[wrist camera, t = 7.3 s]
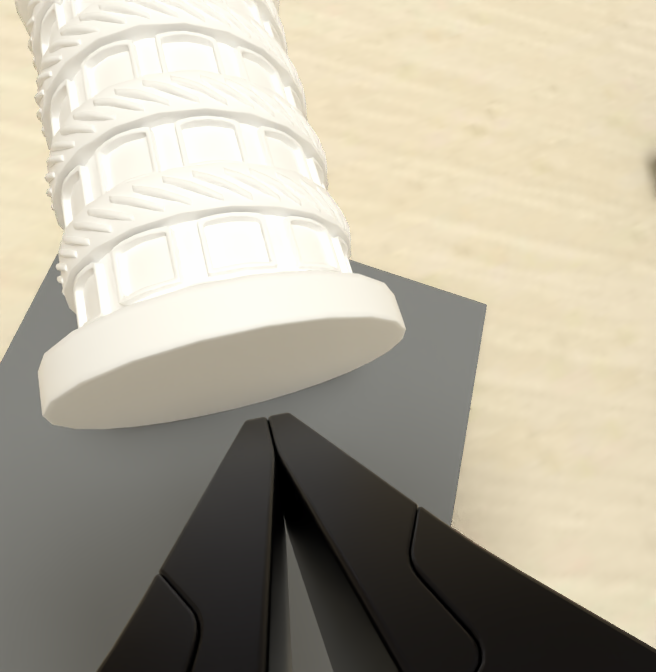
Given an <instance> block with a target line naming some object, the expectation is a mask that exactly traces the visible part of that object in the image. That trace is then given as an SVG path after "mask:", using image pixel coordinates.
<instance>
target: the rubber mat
mask: <svg viewBox="0 0 656 672" xmlns="http://www.w3.org/2000/svg"><path fill="white" fill-rule="evenodd" d="M58 263H59V255H58V254H57V256H56V258H55V260H54V262H53V263H52V265H51V267H50V269H49V271H48V273H47V275H46V277H45V279H44V281H43V283H42V285H41V286H40V288H39V290H38V292H37V294H36V296H35V298H34V300H33V302H32V304H31V306H30V308H29V309H28V311H27V313H26V315H25V317H24V319H23V321H22V323H21V325H20V327H19V329H18V331H17V332H16V334H15V336H14V338H13V340H12V342H11V344H10V346H9V348H8V350H7V352H6V353H5V355H4V357H3V359H2V361H1V363H0V672H96V670H97V669H98V667H99V666H100V664H101V663H102V661H103V660H104V658H105V657H106V655H107V654H108V652H109V651H110V649H111V648H112V646H113V645H114V643H115V641H116V640H117V638H118V637H119V635H120V633H121V632H122V630H123V628H124V627H125V625H126V623H127V622H128V620H129V619H130V617H131V615H132V614H133V612H134V610H135V609H136V607H137V605H138V604H139V602H140V601H141V599H142V597H143V595H144V594H145V592H146V590H147V588H148V587H149V585H150V583H151V581H152V580H153V578H154V576H155V575H157V574H159V569H160V567H161V566H162V564H163V562H164V560H165V559H166V557H167V555H168V553H169V552H170V550H171V548H172V547H173V545H174V543H175V541H176V540H177V538H178V536H179V534H180V533H181V531H182V529H183V527H184V526H185V524H186V522H187V520H188V519H189V517H190V515H191V514H192V512H193V510H194V508H195V507H196V505H197V503H198V501H199V500H200V498H201V496H202V494H203V493H204V491H205V489H206V487H207V486H208V484H209V482H210V481H211V479H212V477H213V475H214V474H215V472H216V470H217V468H218V467H219V465H220V463H221V461H222V460H223V458H224V456H225V455H226V453H227V451H228V449H229V448H230V446H231V444H232V442H233V441H234V439H235V437H236V435H237V434H238V432H239V430H240V428H241V427H242V425H243V423H244V422H245V421H246V420H249V419H255V418H260V417H266V418H267V420H268V418H269V416H271V415H275V414H281V413H286V412H288V413H291V414H292V415H294V416H295V417H296V418H298V419H299V420H301V421H302V422H303V423H305V424H306V425H308V426H309V427H310V428H312V429H313V430H315V431H316V432H317V433H319V434H320V435H322V436H323V437H324V438H326V439H327V440H329V441H330V442H331V443H333V444H334V445H336V446H337V447H338V448H340V449H341V450H343V451H344V452H345V453H347V454H348V455H350V456H351V457H352V458H354V459H355V460H357V461H358V462H359V463H361V464H362V465H364V466H365V467H366V468H368V469H369V470H371V471H372V472H373V473H375V474H376V475H378V476H379V477H380V478H382V479H383V480H384V481H386V482H387V483H389V484H390V485H391V486H393V487H394V488H396V489H397V490H398V491H400V492H401V493H403V494H404V495H405V496H407V497H408V498H410V499H411V500H412V501H414V502H415V503H417V505H418V508H419V507H424V508H425V509H426V510H428V511H429V512H431V513H432V514H433V515H435V516H436V517H438V518H439V519H440V520H442V521H443V522H445V523H446V524H448V525H449V526H451V521H452V515H453V509H454V503H455V497H456V491H457V485H458V479H459V472H460V466H461V460H462V454H463V448H464V442H465V436H466V429H467V423H468V417H469V411H470V405H471V399H472V393H473V387H474V380H475V374H476V368H477V362H478V356H479V350H480V344H481V337H482V331H483V325H484V319H485V313H486V307H487V305H486V304H483V303H480V302H477V301H474V300H471V299H468V298H465V297H462V296H459V295H456V294H453V293H450V292H447V291H443V290H440V289H437V288H434V287H431V286H428V285H425V284H422V283H419V282H416V281H413V280H410V279H407V278H404V277H401V276H398V275H395V274H391V273H388V272H385V271H382V270H379V269H376V268H373V267H370V266H367V265H364V264H361V263H358V262H355V261H352V260H349V263H350V266H351V269H352V272H353V273H356V274H361V275H364V276H367V277H370V278H372V279H375V280H378V281H381V282H384V283H385V284H386V285H387V287H388V288H389V289H390V290H391V291H392V293H393V294H394V295H395V298H396V301H397V304H398V307H399V310H400V313H401V316H402V319H403V321H404V324H405V327H406V330H405V333H404V336H403V339H402V340H401V341H400V342H399V343H398V344H396V345H395V346H394V347H393V348H392V349H391V350H390V351H388V352H386V353H385V354H383V355H381V356H380V357H378V358H376V359H375V360H373V361H371V362H369V363H367V364H365V365H363V366H361V367H359V368H357V369H354V370H352V371H350V372H348V373H346V374H343V375H340V376H338V377H335V378H333V379H330V380H328V381H325V382H323V383H320V384H317V385H314V386H311V387H308V388H305V389H302V390H299V391H296V392H293V393H290V394H287V395H283V396H280V397H277V398H273V399H270V400H267V401H263V402H259V403H255V404H251V405H247V406H244V407H240V408H236V409H232V410H227V411H223V412H218V413H214V414H209V415H205V416H200V417H195V418H189V419H184V420H178V421H173V422H167V423H159V424H152V425H145V426H137V427H126V428H113V429H73V428H68V427H63V426H57V425H52V424H51V423H50V422H49V421H48V420H47V419H45V418H44V417H43V416H42V408H41V399H40V389H39V380H38V370H39V367H40V364H41V361H42V358H43V355H44V353H45V352H47V351H48V350H49V349H51V348H52V347H53V346H54V345H56V344H57V343H58V342H59V341H61V340H62V339H63V338H64V337H66V336H67V335H68V334H69V333H71V332H72V331H74V330H76V329H78V323H77V315H76V313H74V312H73V311H72V310H71V309H70V308H69V306H68V304H67V301H66V298H65V296H64V295H63V293H62V289H63V287H62V283H59V282H58V281H57V277H58V276H60V275H61V271H59V270H57V269H56V264H58ZM284 522H285V520H284ZM285 530H286V543H287V564H288V586H289V607H290V629H291V650H292V672H333V669H332V666H331V663H330V660H329V657H328V654H327V651H326V648H325V645H324V642H323V639H322V636H321V633H320V630H319V627H318V624H317V621H316V618H315V615H314V612H313V609H312V606H311V603H310V600H309V597H308V594H307V591H306V588H305V585H304V582H303V578H302V575H301V572H300V569H299V566H298V563H297V560H296V557H295V554H294V551H293V548H292V545H291V542H290V539H289V536H288V532H287V529H286V524H285Z"/></svg>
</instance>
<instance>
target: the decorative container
mask: <svg viewBox="0 0 656 672" xmlns="http://www.w3.org/2000/svg"><path fill="white" fill-rule="evenodd" d="M14 1H15V5H16V9H17V13H18V15H19V17H20V18H21V20H22V22H23V24H24V26H25V28H26V30H27V32H28V34H29V36H30V40H29V42H28V48H29V49H30V51H31V53H32V54H33V55H34V58H33V65H34V67H35V69H36V70H37V72H38V77H37V80H36V82H37V86H38V93H37V94H36V95H35V97H34V98H35V101H36V103H37V104H38V106H39V107H40V109H39V110H38V112H37V118H38V119H39V120H40V121H41V122H42V125H43V127H42V133H43V135H44V136H45V137H46V141H47V145H48V149H49V150H50V154H49V157H48V159H47V169H48V174H46V175H45V179H46V181H47V182H48V183H49V185H50V188H49V189H47V192H46V194H47V196H50V197H51V200H52V206H51V208H52V210H53V211H55V215H56V218H57V222H58V224H59V226H60V227H61V228H62V229H63V230H64V233H63V236H62V240H61V244H60V247H59V251H58V255H59V263H58V264H56V269H57V270H59V271H61V275H60V276H58V277H57V281H58V282H59V283H62V287H63V289H62V293H63V295H64V296H65V298H66V301H67V304H68V306H69V308H70V309H71V310H72V311H73V312H74V313H76V315H77V323H78V329H76V330H74V331H72V332H71V333H69V334H68V335H67V336H66V337H64V338H63V339H62V340H61V341H59V342H58V343H57V344H56V345H54V346H53V347H52V348H51V349H49V350H48V351H47V352H45V353H44V355H43V358H42V361H41V364H40V367H39V370H38V380H39V389H40V399H41V408H42V416H43V417H44V418H45V419H47V420H48V421H49V422H50V423H51V424H52V425H57V426H63V427H68V428H73V429H113V428H126V427H137V426H145V425H152V424H159V423H167V422H173V421H178V420H184V419H189V418H195V417H200V416H205V415H209V414H214V413H218V412H223V411H227V410H232V409H236V408H240V407H244V406H247V405H251V404H255V403H259V402H263V401H267V400H270V399H273V398H277V397H280V396H283V395H287V394H290V393H293V392H296V391H299V390H302V389H305V388H308V387H311V386H314V385H317V384H320V383H323V382H325V381H328V380H330V379H333V378H335V377H338V376H340V375H343V374H346V373H348V372H350V371H352V370H354V369H357V368H359V367H361V366H363V365H365V364H367V363H369V362H371V361H373V360H375V359H376V358H378V357H380V356H381V355H383V354H385V353H386V352H388V351H390V350H391V349H392V348H393V347H394V346H395V345H396V344H398V343H399V342H400V341H401V340H402V339H403V336H404V333H405V330H406V327H405V324H404V321H403V319H402V316H401V313H400V310H399V307H398V304H397V301H396V298H395V295H394V294H393V293H392V291H391V290H390V289H389V288H388V287H387V285H386V284H385V283H384V282H381V281H378V280H375V279H372V278H370V277H367V276H364V275H361V274H356V273H353V272H352V269H351V266H350V263H349V259H350V257H351V237H350V229H349V224H348V222H347V220H346V218H345V216H344V214H343V212H342V211H341V209H340V208H339V206H338V205H337V204H336V202H335V201H334V199H333V198H332V197H331V195H330V194H329V193H328V191H327V189H328V179H327V162H326V156H325V152H324V149H323V147H322V145H321V143H320V140H319V138H318V136H317V134H316V133H315V131H314V130H313V128H312V127H311V126H310V124H309V123H308V122H307V121H308V120H307V109H306V100H305V94H304V89H303V85H302V83H301V81H300V78H299V76H298V73H297V70H296V68H295V67H294V65H293V63H292V62H291V60H290V58H289V57H288V51H287V43H286V38H285V33H284V28H283V25H282V22H281V20H280V18H279V0H14Z"/></svg>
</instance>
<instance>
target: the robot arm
mask: <svg viewBox="0 0 656 672" xmlns="http://www.w3.org/2000/svg"><path fill="white" fill-rule="evenodd" d="M284 520H285V522H284ZM285 524H286V529H287V532H288V536H289V539H290V542H291V545H292V548H293V551H294V554H295V557H296V560H297V563H298V566H299V569H300V572H301V575H302V578H303V582H304V585H305V588H306V591H307V594H308V597H309V600H310V603H311V606H312V609H313V612H314V615H315V618H316V621H317V624H318V627H319V630H320V633H321V636H322V639H323V642H324V645H325V648H326V651H327V654H328V657H329V660H330V663H331V666H332V669H333V672H656V649H655V648H653V647H651V646H649V645H648V644H646V643H644V642H642V641H641V640H639V639H637V638H636V637H634V636H632V635H630V634H629V633H627V632H625V631H624V630H622V629H620V628H618V627H617V626H615V625H613V624H611V623H610V622H608V621H606V620H605V619H603V618H601V617H599V616H598V615H596V614H594V613H593V612H591V611H589V610H587V609H586V608H584V607H582V606H581V605H579V604H577V603H575V602H574V601H572V600H570V599H568V598H567V597H565V596H563V595H562V594H560V593H558V592H556V591H555V590H553V589H551V588H550V587H548V586H546V585H544V584H543V583H541V582H539V581H537V580H536V579H534V578H532V577H531V576H529V575H527V574H525V573H524V572H522V571H520V570H519V569H517V568H515V567H514V566H512V565H510V564H509V563H507V562H505V561H504V560H502V559H500V558H499V557H497V556H496V555H494V554H492V553H491V552H489V551H487V550H486V549H484V548H482V547H481V546H479V545H477V544H476V543H474V542H473V541H471V540H470V539H468V538H467V537H465V536H464V535H463V534H461V533H460V532H458V531H457V530H455V529H454V528H452V527H451V526H449V525H448V524H446V523H445V522H443V521H442V520H440V519H439V518H438V517H436V516H435V515H433V514H432V513H431V512H429V511H428V510H426V509H425V508H424V507H419V508H418V505H417V503H415V502H414V501H412V500H411V499H410V498H408V497H407V496H405V495H404V494H403V493H401V492H400V491H398V490H397V489H396V488H394V487H393V486H391V485H390V484H389V483H387V482H386V481H384V480H383V479H382V478H380V477H379V476H378V475H376V474H375V473H373V472H372V471H371V470H369V469H368V468H366V467H365V466H364V465H362V464H361V463H359V462H358V461H357V460H355V459H354V458H352V457H351V456H350V455H348V454H347V453H345V452H344V451H343V450H341V449H340V448H338V447H337V446H336V445H334V444H333V443H331V442H330V441H329V440H327V439H326V438H324V437H323V436H322V435H320V434H319V433H317V432H316V431H315V430H313V429H312V428H310V427H309V426H308V425H306V424H305V423H303V422H302V421H301V420H299V419H298V418H296V417H295V416H294V415H292V414H291V413H288V412H286V413H281V414H275V415H271V416H269V418H268V420H267V418H266V417H260V418H255V419H249V420H246V421H245V422H244V423H243V425H242V427H241V428H240V430H239V432H238V434H237V435H236V437H235V439H234V441H233V442H232V444H231V446H230V448H229V449H228V451H227V453H226V455H225V456H224V458H223V460H222V461H221V463H220V465H219V467H218V468H217V470H216V472H215V474H214V475H213V477H212V479H211V481H210V482H209V484H208V486H207V487H206V489H205V491H204V493H203V494H202V496H201V498H200V500H199V501H198V503H197V505H196V507H195V508H194V510H193V512H192V514H191V515H190V517H189V519H188V520H187V522H186V524H185V526H184V527H183V529H182V531H181V533H180V534H179V536H178V538H177V540H176V541H175V543H174V545H173V547H172V548H171V550H170V552H169V553H168V555H167V557H166V559H165V560H164V562H163V564H162V566H161V567H160V569H159V574H157V575H155V576H154V578H153V580H152V581H151V583H150V585H149V587H148V588H147V590H146V592H145V594H144V595H143V597H142V599H141V601H140V602H139V604H138V605H137V607H136V609H135V610H134V612H133V614H132V615H131V617H130V619H129V620H128V622H127V623H126V625H125V627H124V628H123V630H122V632H121V633H120V635H119V637H118V638H117V640H116V641H115V643H114V645H113V646H112V648H111V649H110V651H109V652H108V654H107V655H106V657H105V658H104V660H103V661H102V663H101V664H100V666H99V667H98V669H97V670H96V672H292V650H291V629H290V607H289V586H288V564H287V543H286V530H285Z"/></svg>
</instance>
